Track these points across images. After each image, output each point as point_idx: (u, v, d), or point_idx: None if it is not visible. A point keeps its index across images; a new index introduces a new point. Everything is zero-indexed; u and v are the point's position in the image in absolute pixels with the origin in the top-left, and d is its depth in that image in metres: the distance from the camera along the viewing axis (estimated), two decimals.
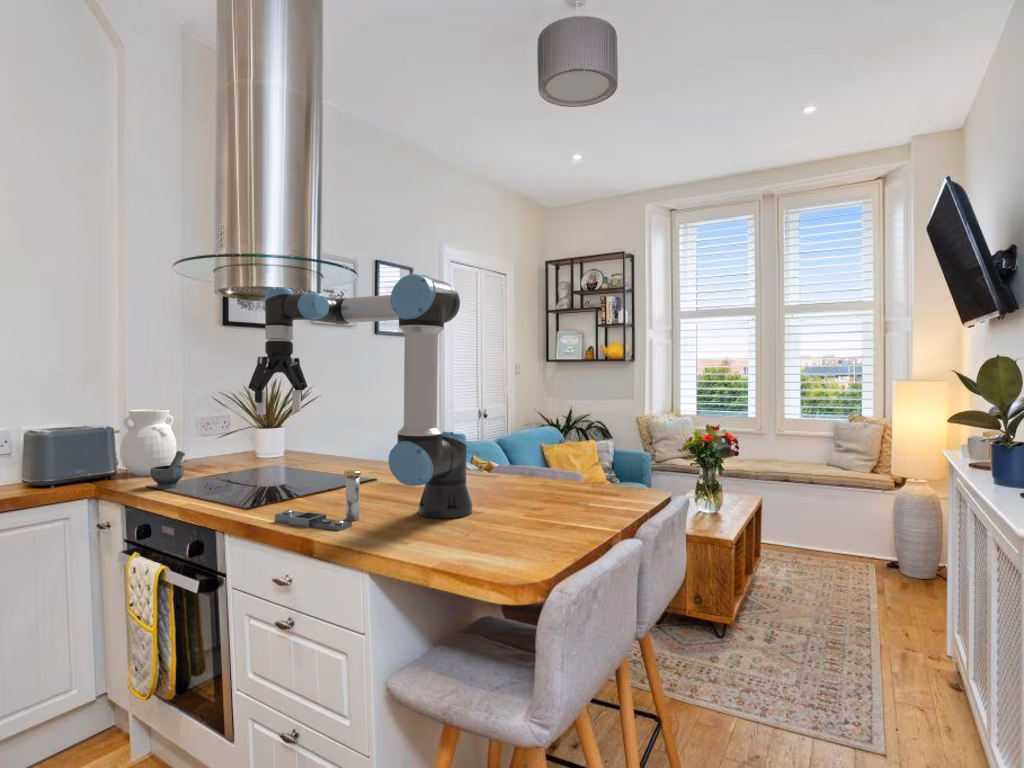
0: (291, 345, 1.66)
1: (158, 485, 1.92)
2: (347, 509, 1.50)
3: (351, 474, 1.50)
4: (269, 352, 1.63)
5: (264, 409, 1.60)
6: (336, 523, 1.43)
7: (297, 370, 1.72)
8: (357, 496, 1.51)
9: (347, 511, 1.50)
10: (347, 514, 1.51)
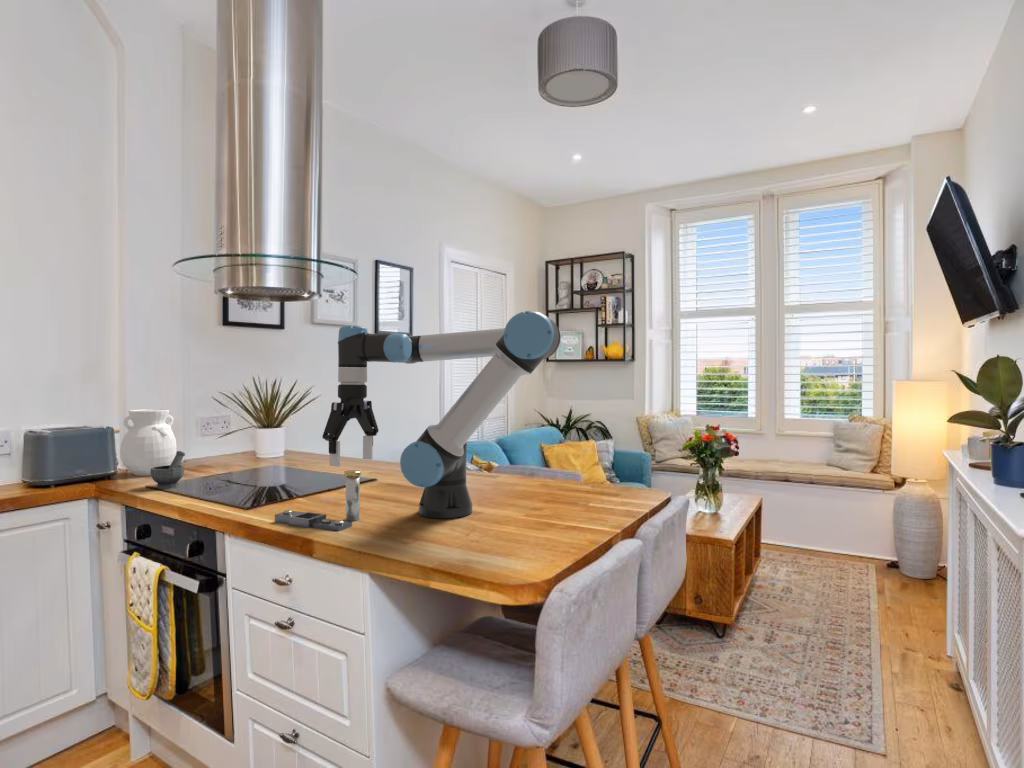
0: (366, 388, 1.51)
1: (158, 485, 1.92)
2: (347, 509, 1.50)
3: (351, 474, 1.50)
4: (343, 397, 1.48)
5: (338, 461, 1.45)
6: (336, 523, 1.43)
7: (369, 414, 1.57)
8: (357, 496, 1.51)
9: (347, 511, 1.50)
10: (347, 514, 1.51)
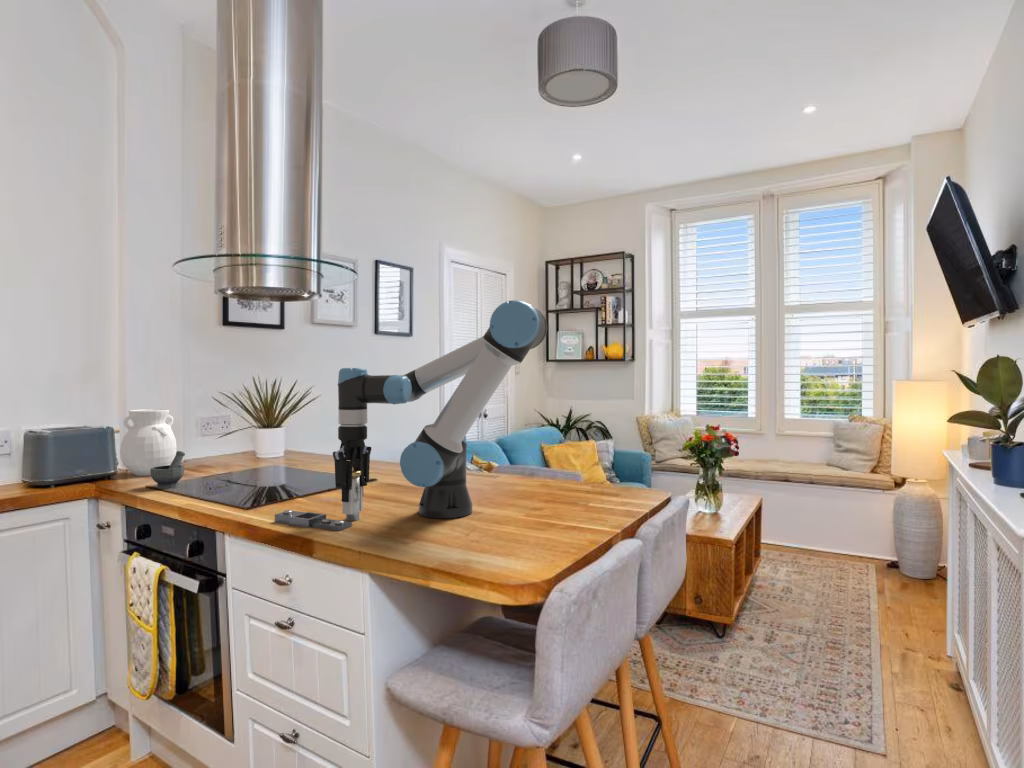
0: (366, 430, 1.51)
1: (158, 485, 1.92)
2: None
3: None
4: (343, 439, 1.48)
5: (351, 508, 1.49)
6: (336, 523, 1.43)
7: (365, 459, 1.56)
8: (357, 496, 1.51)
9: None
10: (347, 514, 1.51)
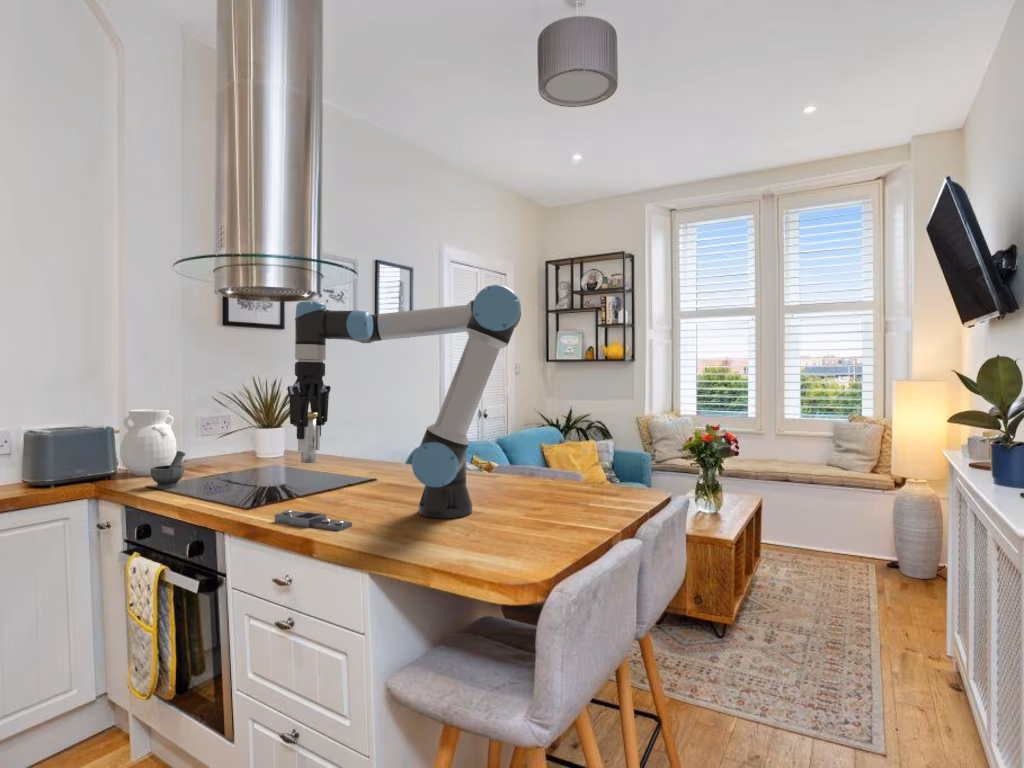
0: (323, 366, 1.47)
1: (158, 485, 1.92)
2: None
3: (307, 414, 1.46)
4: (299, 374, 1.44)
5: (306, 446, 1.45)
6: (336, 523, 1.43)
7: (324, 399, 1.51)
8: (313, 438, 1.47)
9: (302, 453, 1.46)
10: (302, 456, 1.46)
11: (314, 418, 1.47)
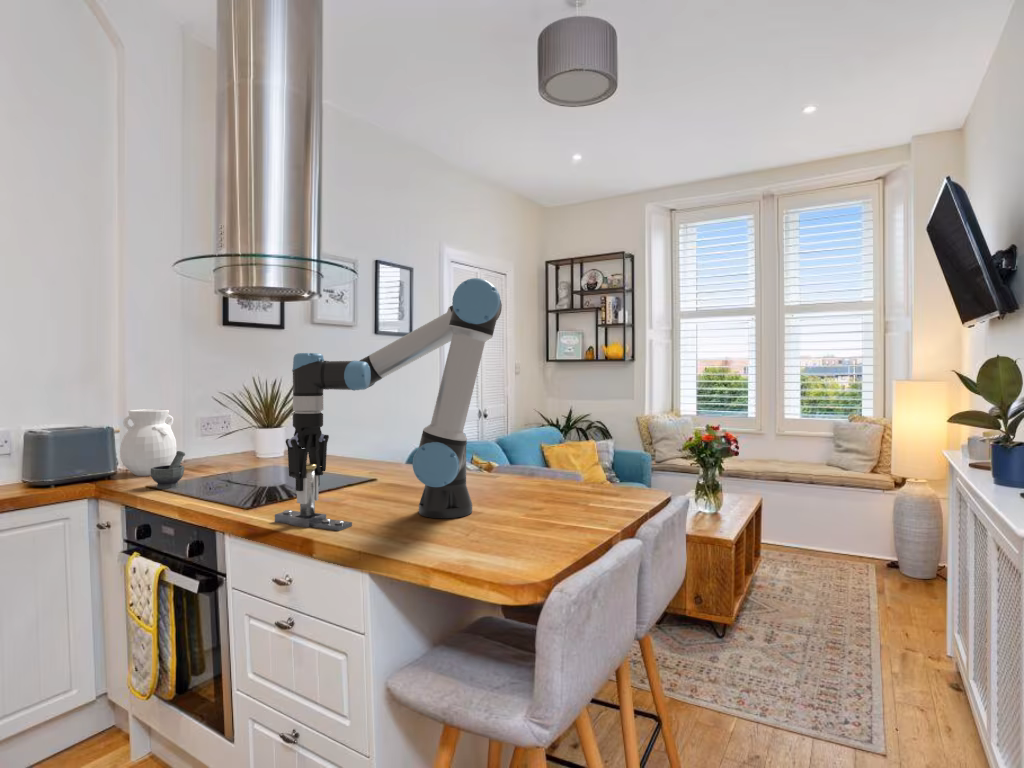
0: (321, 417, 1.47)
1: (158, 485, 1.92)
2: (301, 503, 1.46)
3: None
4: (297, 426, 1.44)
5: (306, 498, 1.45)
6: (336, 523, 1.43)
7: (322, 448, 1.51)
8: (312, 490, 1.47)
9: (301, 505, 1.46)
10: (301, 508, 1.46)
11: (313, 470, 1.47)
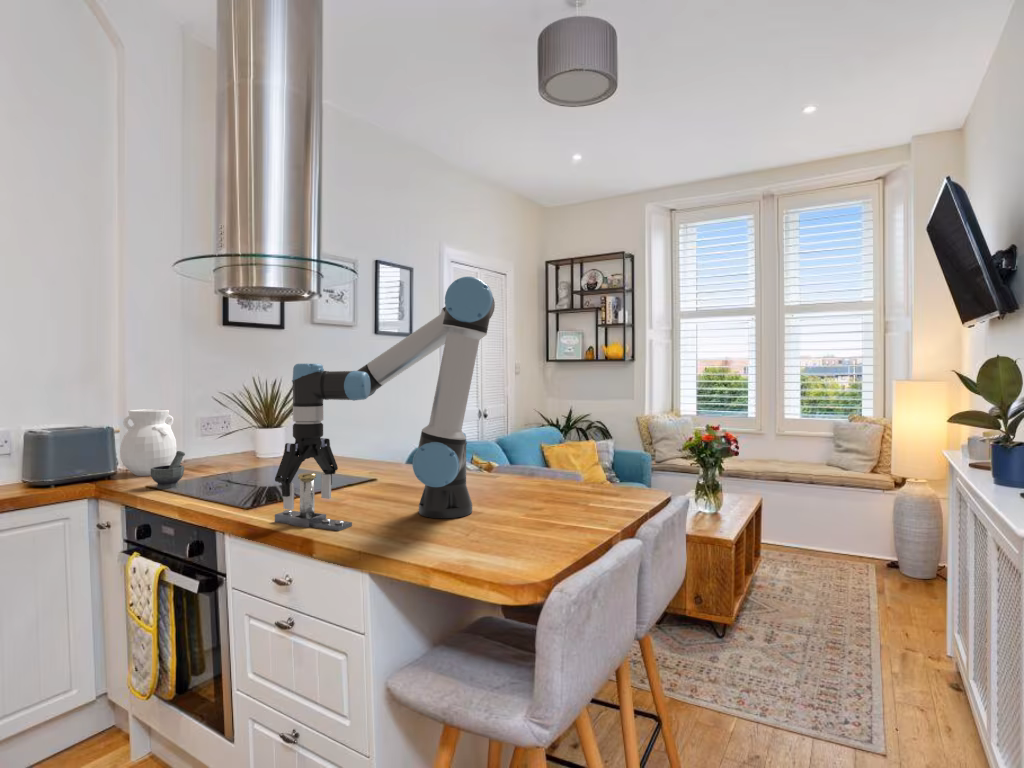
0: (321, 427, 1.47)
1: (158, 485, 1.92)
2: (301, 513, 1.46)
3: (305, 477, 1.45)
4: (297, 437, 1.44)
5: (292, 503, 1.41)
6: (336, 523, 1.43)
7: (327, 452, 1.53)
8: (311, 499, 1.47)
9: (301, 515, 1.46)
10: None
11: (312, 479, 1.47)
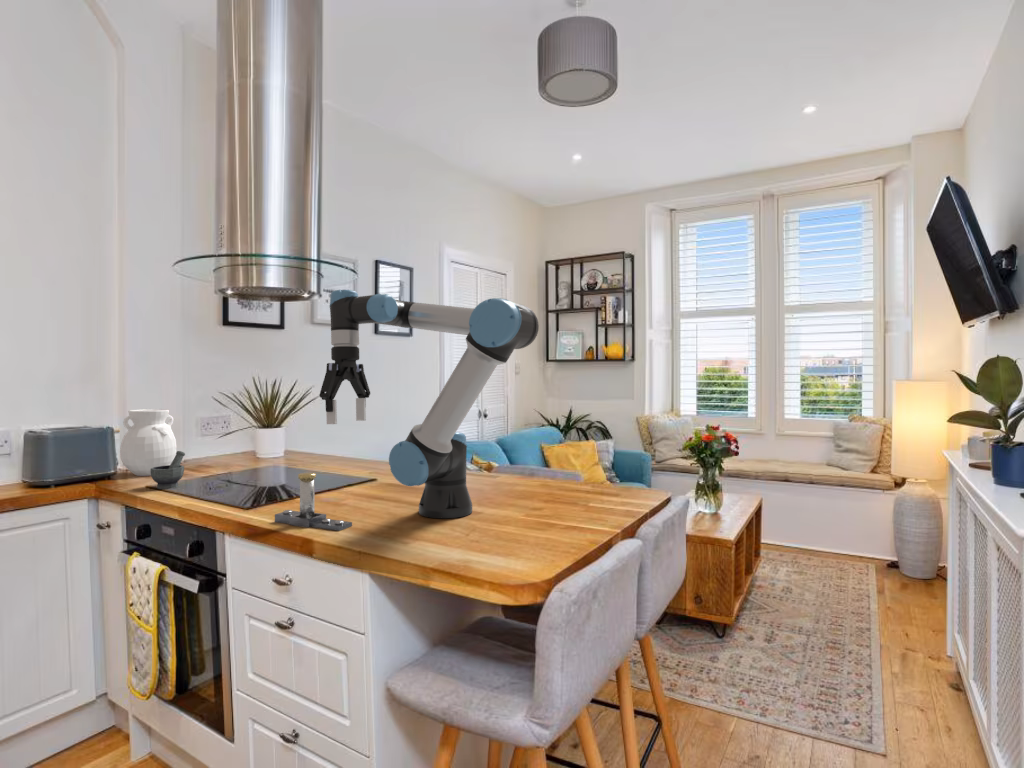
0: (358, 350, 1.57)
1: (158, 485, 1.92)
2: (301, 513, 1.46)
3: (305, 477, 1.45)
4: (337, 358, 1.54)
5: (335, 418, 1.51)
6: (336, 523, 1.43)
7: (361, 377, 1.63)
8: (311, 499, 1.47)
9: (301, 515, 1.46)
10: None
11: (312, 479, 1.47)
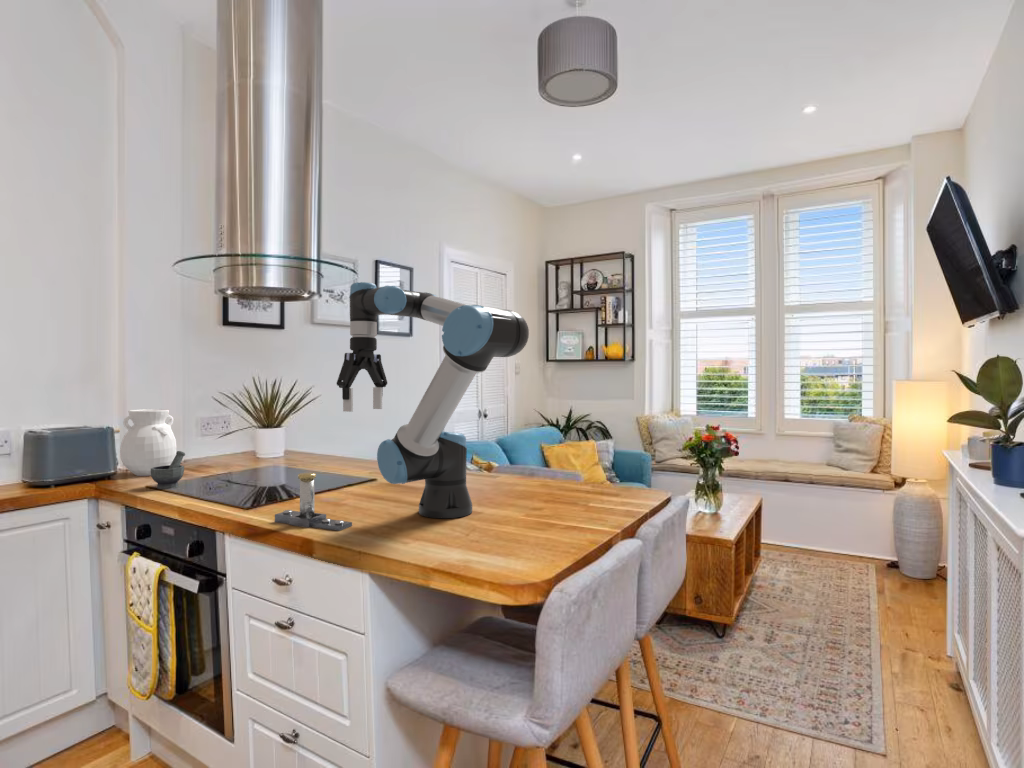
0: (375, 341, 1.63)
1: (158, 485, 1.92)
2: (301, 513, 1.46)
3: (305, 477, 1.45)
4: (355, 348, 1.60)
5: (351, 406, 1.57)
6: (336, 523, 1.43)
7: (378, 367, 1.69)
8: (311, 499, 1.47)
9: (301, 515, 1.46)
10: None
11: (312, 479, 1.47)
